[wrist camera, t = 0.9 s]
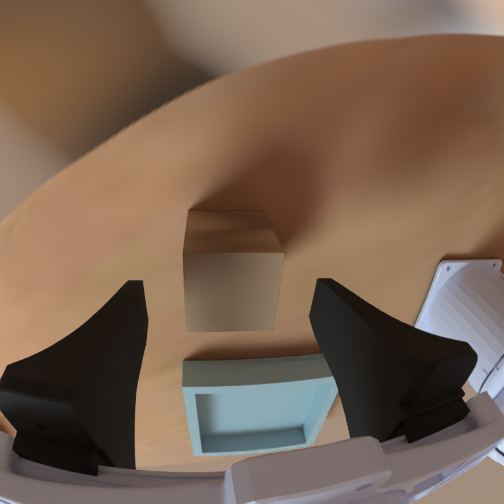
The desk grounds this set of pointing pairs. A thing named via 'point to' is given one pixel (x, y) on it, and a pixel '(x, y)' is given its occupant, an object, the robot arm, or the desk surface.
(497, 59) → the desk surface
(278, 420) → the tray
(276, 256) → the walnut block
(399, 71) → the desk surface
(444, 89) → the desk surface
